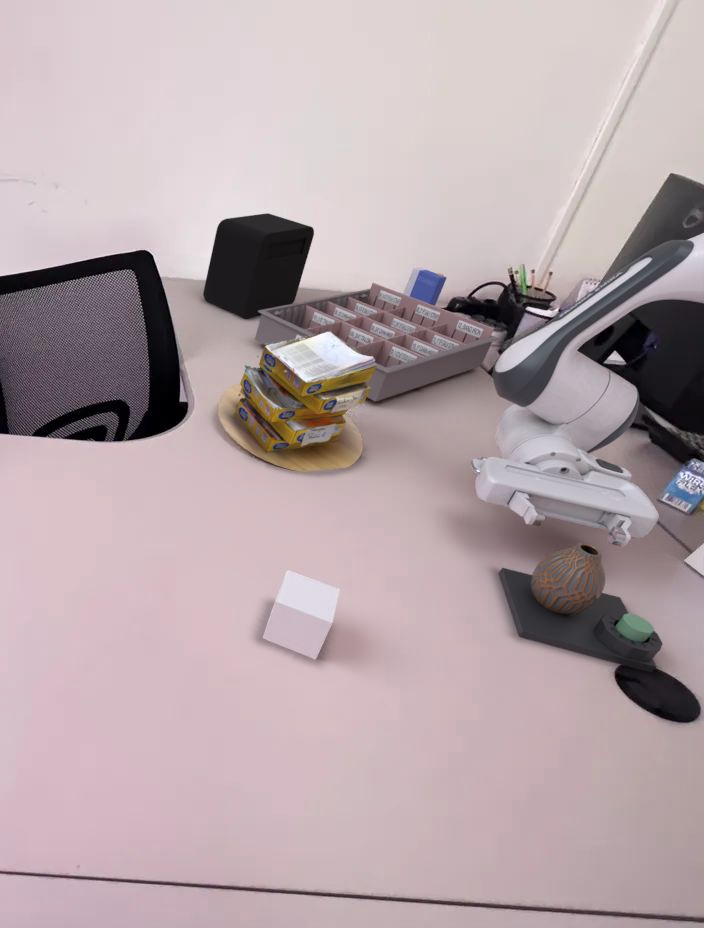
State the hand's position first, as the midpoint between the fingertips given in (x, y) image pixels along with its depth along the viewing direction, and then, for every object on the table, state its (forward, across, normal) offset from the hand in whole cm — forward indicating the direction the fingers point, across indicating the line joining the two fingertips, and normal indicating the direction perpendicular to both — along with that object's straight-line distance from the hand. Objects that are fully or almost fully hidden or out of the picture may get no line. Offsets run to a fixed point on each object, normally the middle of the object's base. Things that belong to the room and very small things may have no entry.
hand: (578, 531), depth 83 cm
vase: (+4, 0, +8) cm, 9 cm away
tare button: (+8, +6, +7) cm, 13 cm away
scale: (+5, +2, +10) cm, 11 cm away
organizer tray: (-69, -19, +10) cm, 72 cm away
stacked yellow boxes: (-27, -34, +10) cm, 44 cm away
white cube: (+21, -31, +10) cm, 39 cm away
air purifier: (-90, -47, +10) cm, 102 cm away
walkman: (-104, -6, +10) cm, 104 cm away
